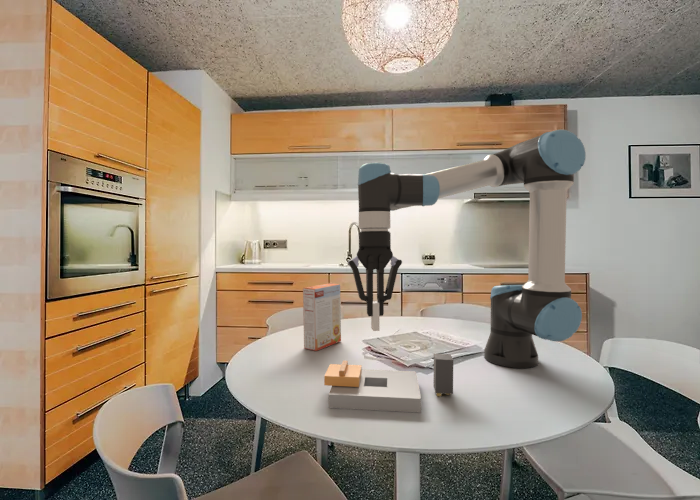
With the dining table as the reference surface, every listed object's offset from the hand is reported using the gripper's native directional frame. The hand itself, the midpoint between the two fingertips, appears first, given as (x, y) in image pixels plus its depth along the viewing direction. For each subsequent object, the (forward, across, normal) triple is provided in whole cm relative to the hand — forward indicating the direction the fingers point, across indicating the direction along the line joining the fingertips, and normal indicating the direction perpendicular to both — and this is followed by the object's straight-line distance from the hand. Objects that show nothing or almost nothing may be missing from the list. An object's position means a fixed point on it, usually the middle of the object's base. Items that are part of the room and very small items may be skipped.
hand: (375, 329), depth 87 cm
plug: (+16, -16, +2) cm, 22 cm away
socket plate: (+16, 0, 0) cm, 16 cm away
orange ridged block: (+12, +8, -1) cm, 14 cm away
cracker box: (+16, +11, -41) cm, 45 cm away
